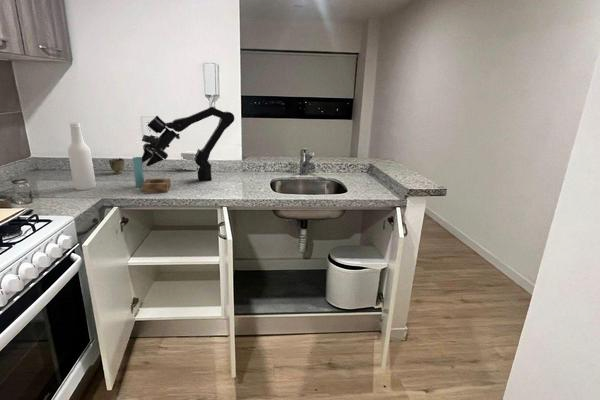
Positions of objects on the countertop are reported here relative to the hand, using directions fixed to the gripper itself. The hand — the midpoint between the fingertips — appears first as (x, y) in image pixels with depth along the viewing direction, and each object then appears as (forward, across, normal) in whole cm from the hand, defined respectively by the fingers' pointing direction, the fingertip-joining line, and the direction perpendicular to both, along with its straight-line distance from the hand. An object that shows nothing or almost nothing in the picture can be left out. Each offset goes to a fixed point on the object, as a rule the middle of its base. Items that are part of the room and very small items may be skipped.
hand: (143, 164), depth 167 cm
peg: (+9, 0, +6) cm, 11 cm away
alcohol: (+25, -11, -9) cm, 28 cm away
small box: (-16, -21, +31) cm, 40 cm away
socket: (+6, +11, +9) cm, 15 cm away
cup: (+10, -34, +5) cm, 36 cm away
